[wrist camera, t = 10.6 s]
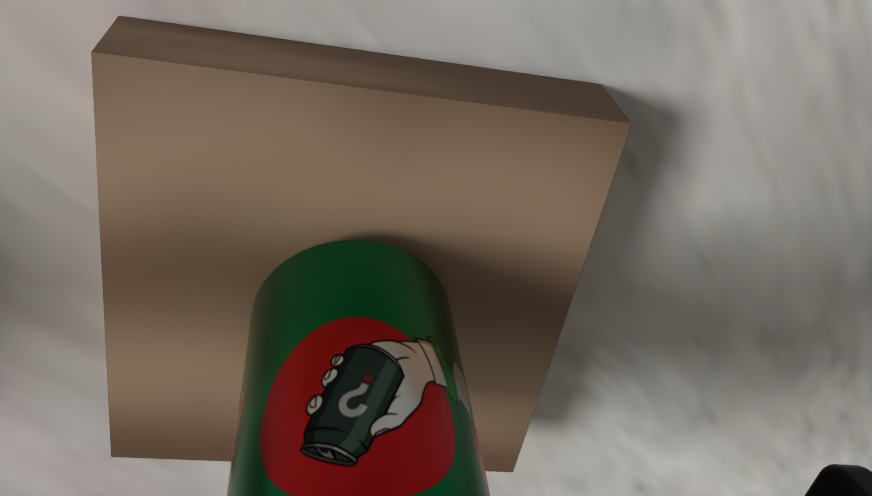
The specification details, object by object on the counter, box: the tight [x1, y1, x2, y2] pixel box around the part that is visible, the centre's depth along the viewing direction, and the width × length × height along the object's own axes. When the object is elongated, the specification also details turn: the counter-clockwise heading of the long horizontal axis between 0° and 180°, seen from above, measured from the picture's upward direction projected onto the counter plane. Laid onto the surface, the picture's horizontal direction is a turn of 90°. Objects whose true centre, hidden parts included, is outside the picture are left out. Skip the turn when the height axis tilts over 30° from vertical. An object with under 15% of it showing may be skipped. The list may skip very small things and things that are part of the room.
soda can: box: [227, 240, 490, 496], centre depth 15 cm, size 5×5×12 cm
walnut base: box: [91, 16, 631, 472], centre depth 21 cm, size 12×12×2 cm
